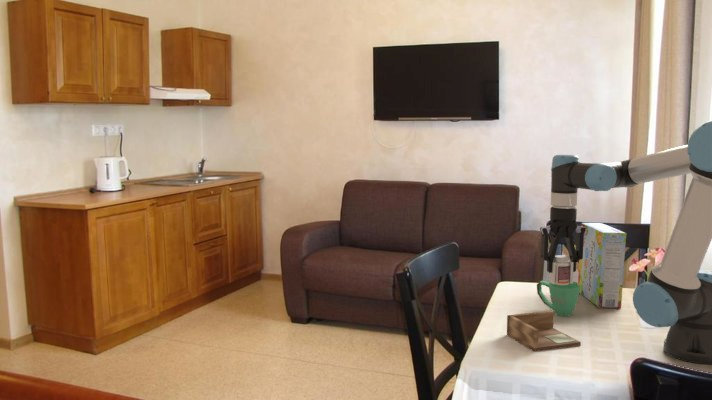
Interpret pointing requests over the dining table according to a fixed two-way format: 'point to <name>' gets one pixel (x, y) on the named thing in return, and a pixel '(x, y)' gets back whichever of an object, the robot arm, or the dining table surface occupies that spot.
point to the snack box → (602, 265)
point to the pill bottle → (562, 270)
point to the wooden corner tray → (538, 331)
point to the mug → (560, 297)
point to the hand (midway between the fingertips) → (560, 282)
